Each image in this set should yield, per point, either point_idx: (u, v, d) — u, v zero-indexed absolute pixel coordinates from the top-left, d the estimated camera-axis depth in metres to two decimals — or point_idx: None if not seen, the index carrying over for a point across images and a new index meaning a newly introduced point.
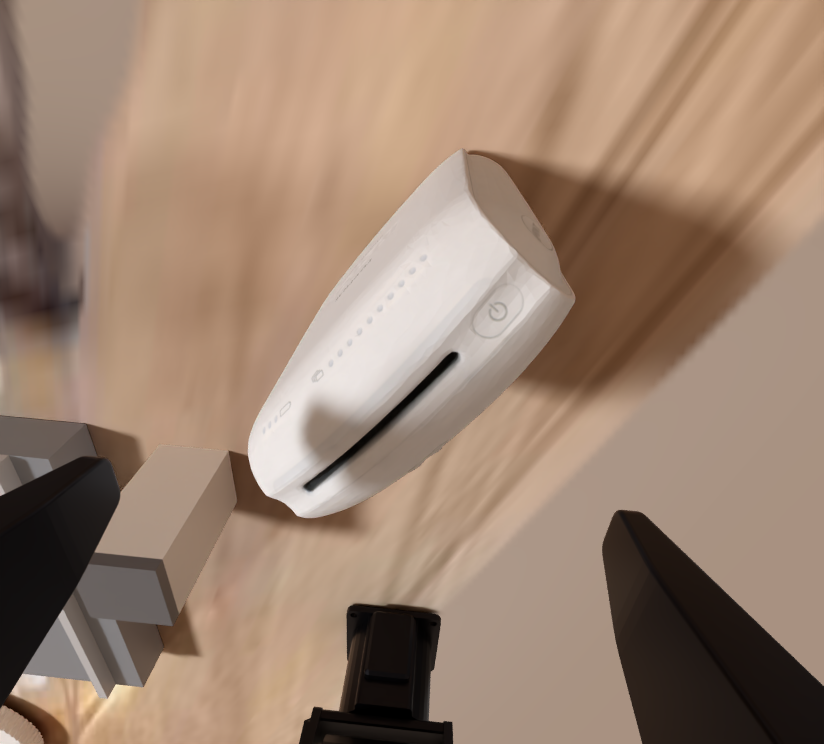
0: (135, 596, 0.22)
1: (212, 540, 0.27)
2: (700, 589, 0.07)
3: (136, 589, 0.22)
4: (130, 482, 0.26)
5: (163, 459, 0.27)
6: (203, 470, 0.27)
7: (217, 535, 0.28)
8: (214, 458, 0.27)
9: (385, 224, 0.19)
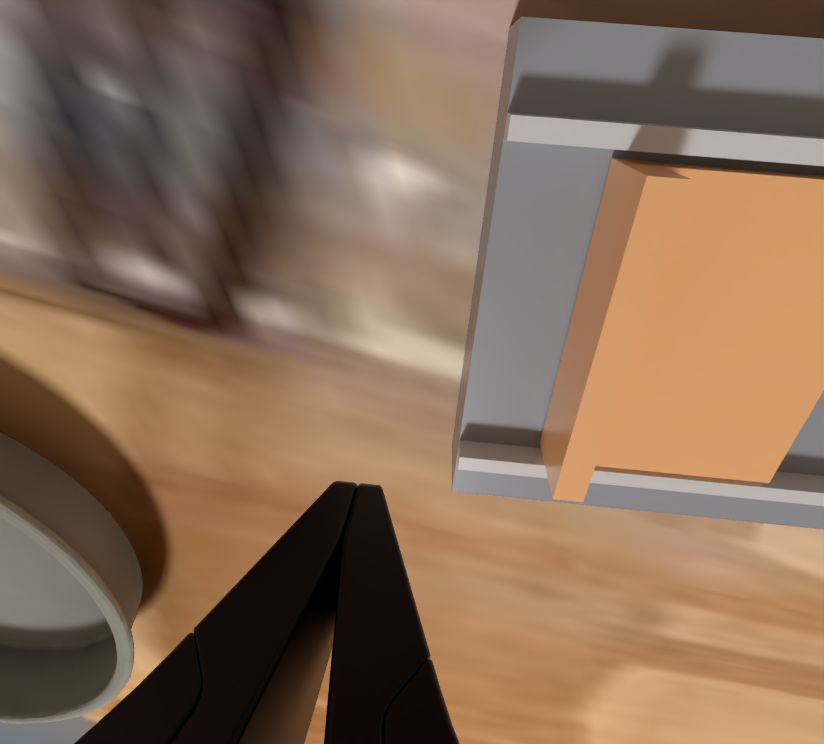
0: None
1: None
2: (376, 554, 0.07)
3: None
4: None
5: None
6: None
7: None
8: None
9: None
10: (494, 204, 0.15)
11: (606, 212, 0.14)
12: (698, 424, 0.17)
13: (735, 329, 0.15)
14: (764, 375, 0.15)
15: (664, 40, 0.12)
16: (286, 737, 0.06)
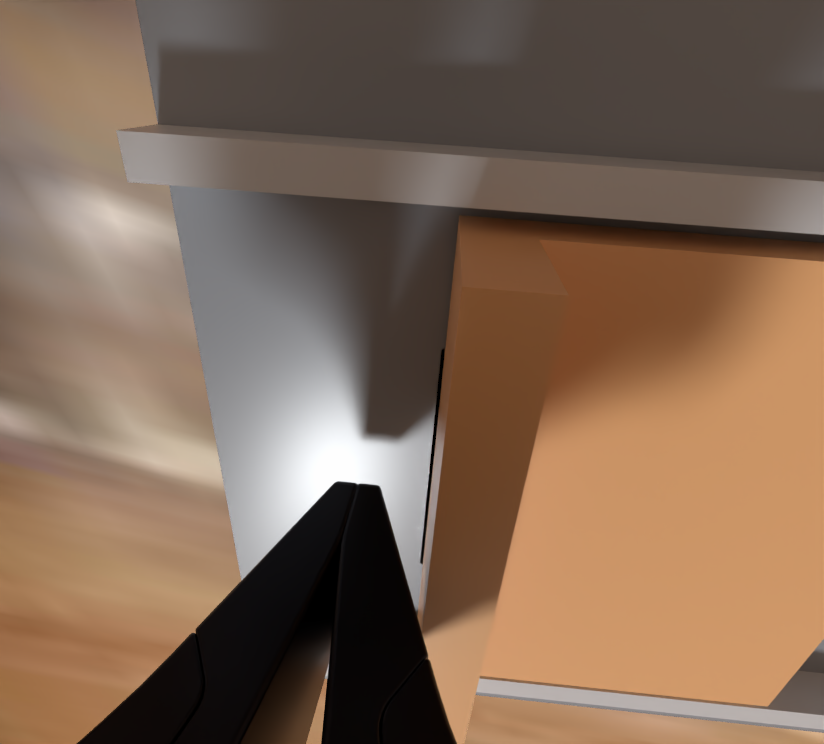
0: None
1: None
2: (374, 554, 0.07)
3: None
4: None
5: None
6: None
7: None
8: None
9: None
10: (190, 286, 0.08)
11: (450, 317, 0.07)
12: (649, 633, 0.10)
13: (703, 509, 0.08)
14: (756, 574, 0.09)
15: None
16: (287, 737, 0.06)
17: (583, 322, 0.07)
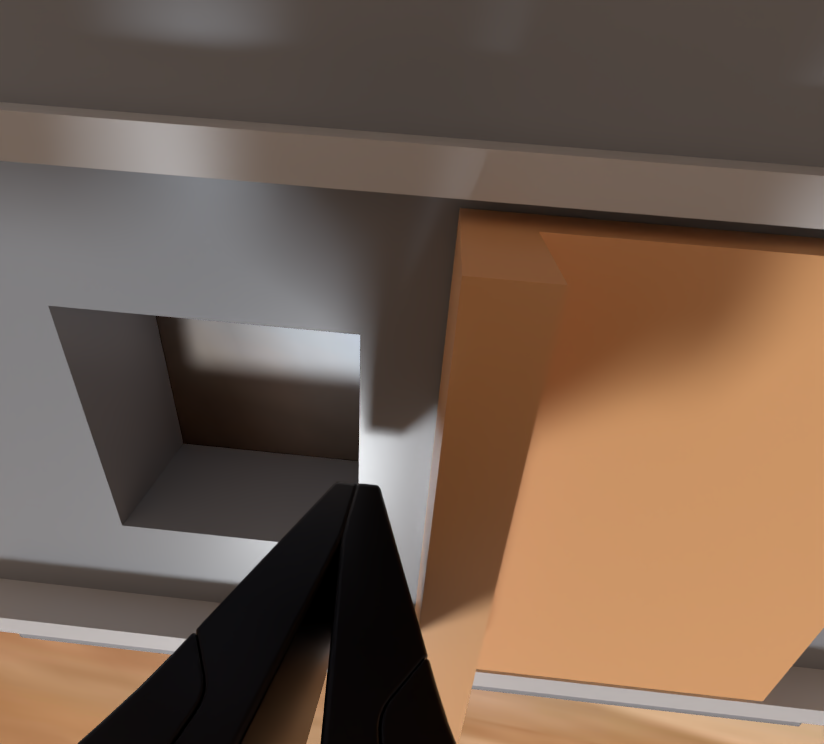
0: None
1: None
2: (373, 554, 0.07)
3: None
4: None
5: None
6: None
7: None
8: None
9: None
10: None
11: (449, 310, 0.07)
12: (645, 627, 0.10)
13: (700, 503, 0.08)
14: (752, 568, 0.09)
15: None
16: (288, 737, 0.06)
17: (582, 315, 0.07)
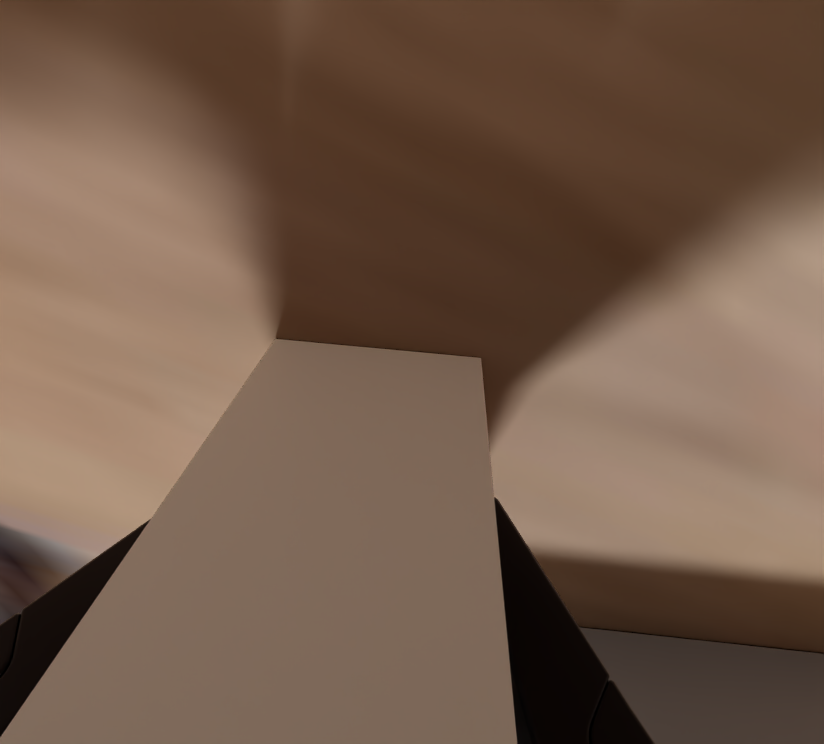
0: None
1: (457, 477, 0.07)
2: (519, 570, 0.07)
3: None
4: None
5: None
6: None
7: (472, 452, 0.07)
8: None
9: None
10: None
11: None
12: None
13: None
14: None
15: None
16: None
17: None
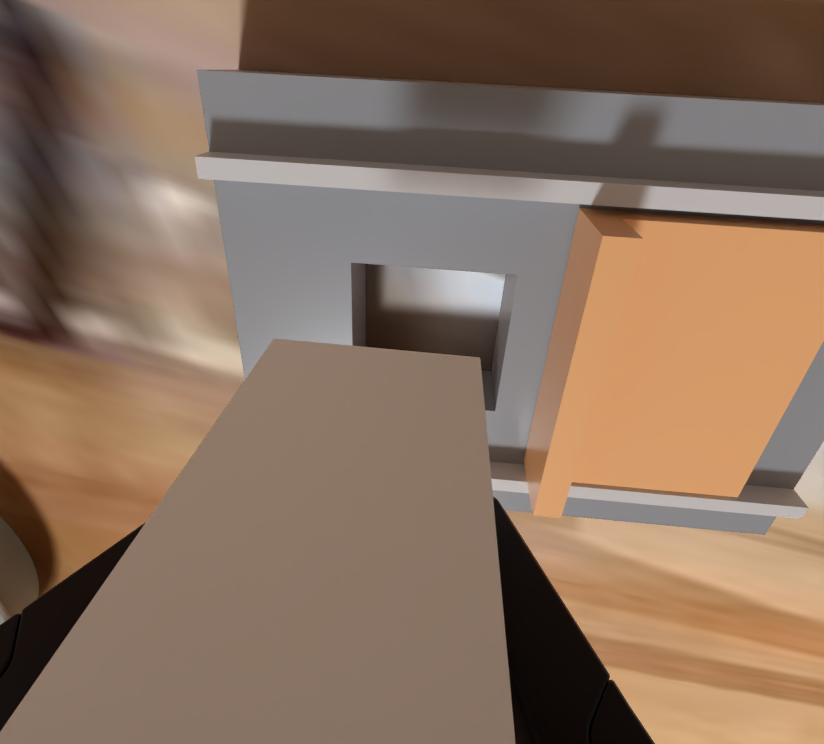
0: None
1: (456, 477, 0.07)
2: (519, 569, 0.07)
3: None
4: None
5: None
6: None
7: (471, 452, 0.07)
8: None
9: None
10: (223, 230, 0.16)
11: (574, 257, 0.15)
12: (668, 444, 0.18)
13: (698, 360, 0.16)
14: (727, 401, 0.17)
15: (324, 88, 0.14)
16: None
17: (640, 258, 0.14)
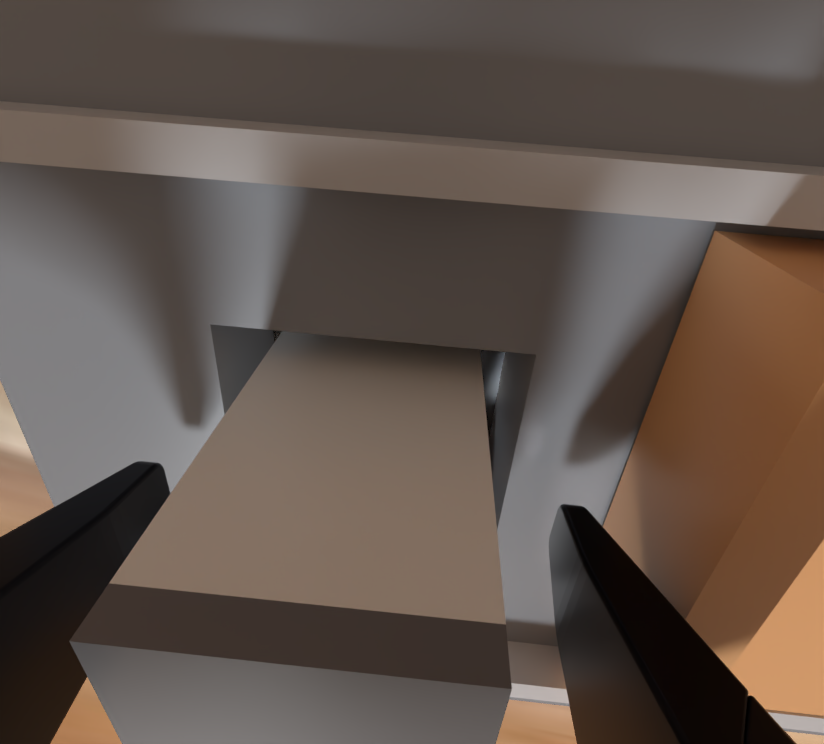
0: (296, 735, 0.05)
1: (456, 395, 0.08)
2: (629, 581, 0.07)
3: (241, 722, 0.05)
4: None
5: None
6: None
7: (468, 379, 0.09)
8: None
9: None
10: None
11: (704, 336, 0.07)
12: None
13: None
14: None
15: None
16: (11, 704, 0.06)
17: None
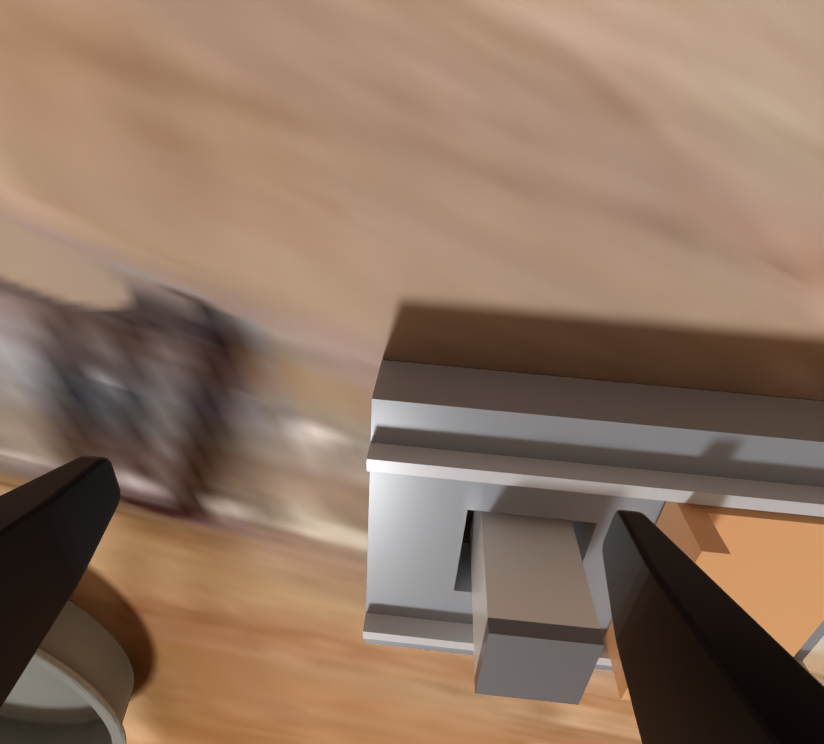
0: (539, 660, 0.18)
1: (565, 538, 0.21)
2: (700, 589, 0.07)
3: (524, 656, 0.18)
4: (472, 582, 0.23)
5: (472, 539, 0.25)
6: (479, 512, 0.23)
7: (567, 528, 0.22)
8: None
9: None
10: (370, 486, 0.21)
11: (666, 528, 0.20)
12: None
13: (755, 593, 0.21)
14: (775, 617, 0.22)
15: (466, 413, 0.19)
16: None
17: None
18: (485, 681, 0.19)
